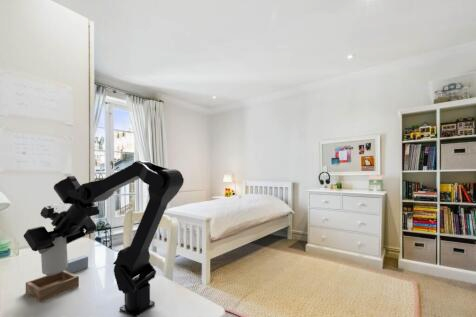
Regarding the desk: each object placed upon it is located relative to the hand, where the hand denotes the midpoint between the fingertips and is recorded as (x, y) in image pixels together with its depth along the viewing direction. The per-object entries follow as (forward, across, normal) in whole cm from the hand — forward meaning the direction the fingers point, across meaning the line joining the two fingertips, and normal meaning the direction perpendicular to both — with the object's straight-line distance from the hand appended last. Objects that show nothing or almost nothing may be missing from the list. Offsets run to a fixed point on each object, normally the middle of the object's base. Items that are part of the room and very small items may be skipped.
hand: (50, 248), depth 74 cm
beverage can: (+4, -1, +6) cm, 7 cm away
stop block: (+12, -12, +5) cm, 18 cm away
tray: (+8, 0, +10) cm, 12 cm away
